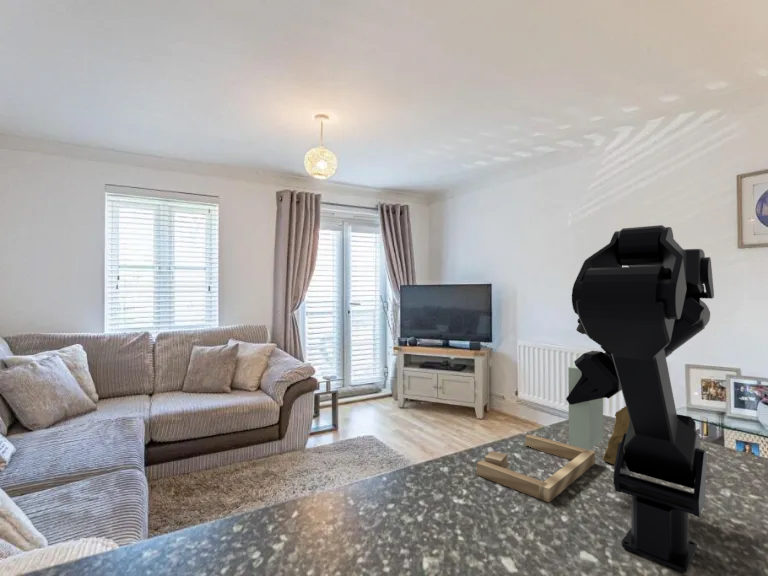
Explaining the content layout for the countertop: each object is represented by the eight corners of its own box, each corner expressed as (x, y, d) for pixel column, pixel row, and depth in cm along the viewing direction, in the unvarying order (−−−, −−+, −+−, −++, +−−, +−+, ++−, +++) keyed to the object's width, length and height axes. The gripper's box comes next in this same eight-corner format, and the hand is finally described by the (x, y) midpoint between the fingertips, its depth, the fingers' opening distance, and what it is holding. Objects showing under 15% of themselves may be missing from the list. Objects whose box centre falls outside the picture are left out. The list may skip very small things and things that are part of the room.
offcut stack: (498, 476, 68) (498, 462, 68) (480, 469, 71) (480, 455, 70) (509, 469, 71) (509, 455, 71) (492, 463, 73) (492, 449, 73)
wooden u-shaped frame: (549, 502, 60) (549, 488, 60) (476, 474, 69) (476, 462, 69) (594, 463, 73) (594, 452, 73) (529, 444, 82) (529, 434, 82)
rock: (623, 460, 69) (671, 446, 71) (595, 411, 73) (641, 399, 76) (590, 475, 77) (634, 462, 80) (567, 430, 82) (610, 419, 84)
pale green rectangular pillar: (589, 450, 62) (588, 369, 62) (568, 444, 64) (568, 367, 64) (603, 439, 66) (602, 364, 66) (583, 434, 68) (583, 362, 68)
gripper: (631, 292, 69) (564, 351, 77) (589, 294, 56) (514, 365, 64) (689, 344, 63) (610, 402, 71) (658, 360, 50) (566, 429, 58)
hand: (576, 397), depth 66 cm, fingers closed on pale green rectangular pillar, 6 cm apart
